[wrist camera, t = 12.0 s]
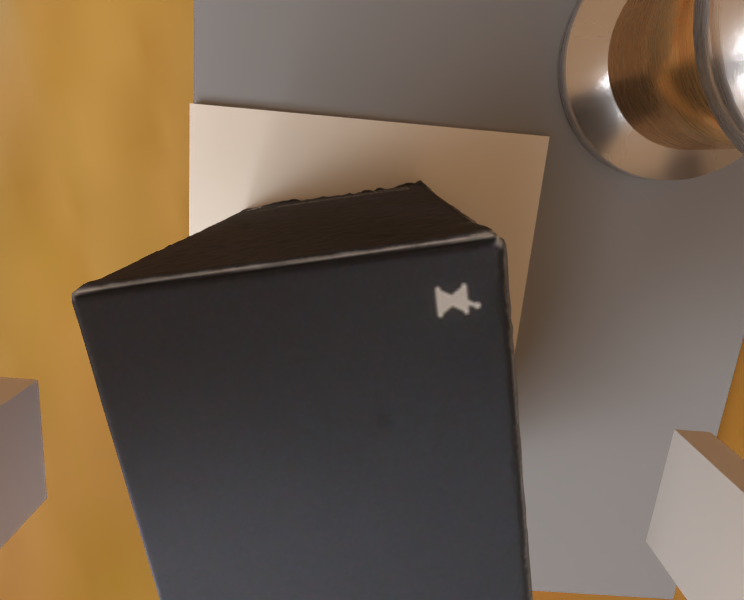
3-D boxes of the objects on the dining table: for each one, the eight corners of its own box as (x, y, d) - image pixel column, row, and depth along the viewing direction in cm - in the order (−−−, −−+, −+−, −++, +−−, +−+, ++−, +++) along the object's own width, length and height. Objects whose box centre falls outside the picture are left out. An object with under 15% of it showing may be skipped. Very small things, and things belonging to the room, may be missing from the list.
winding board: (816, -69, 17) (871, -96, 16) (653, 571, 23) (678, 607, 22) (210, -135, 17) (190, -171, 15) (202, 543, 23) (187, 577, 21)
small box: (225, 207, 17) (32, 277, 7) (430, 177, 17) (526, 209, 7) (285, 497, 20) (204, 848, 10) (463, 474, 20) (566, 805, 10)
